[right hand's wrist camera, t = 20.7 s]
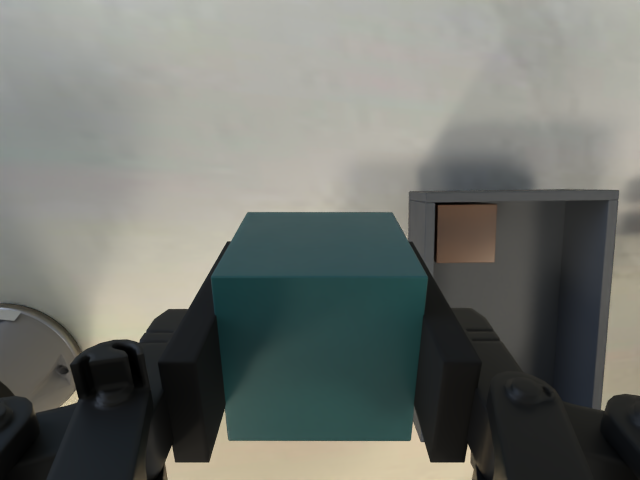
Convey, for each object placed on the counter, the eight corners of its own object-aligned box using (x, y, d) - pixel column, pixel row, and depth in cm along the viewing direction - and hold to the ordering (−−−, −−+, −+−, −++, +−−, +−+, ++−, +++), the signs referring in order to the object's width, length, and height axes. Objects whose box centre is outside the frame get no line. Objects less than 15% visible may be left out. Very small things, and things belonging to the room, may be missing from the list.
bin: (552, 433, 43) (608, 494, 35) (405, 434, 43) (424, 494, 35) (569, 189, 40) (635, 190, 31) (408, 191, 40) (431, 193, 31)
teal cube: (384, 335, 16) (411, 441, 11) (255, 335, 16) (227, 441, 11) (392, 211, 14) (429, 276, 9) (247, 212, 14) (210, 276, 9)
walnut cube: (473, 252, 40) (494, 262, 35) (422, 253, 40) (436, 263, 35) (475, 201, 39) (497, 204, 34) (423, 202, 39) (437, 204, 34)
